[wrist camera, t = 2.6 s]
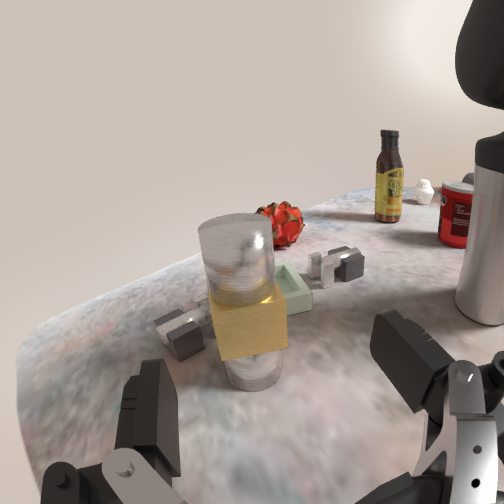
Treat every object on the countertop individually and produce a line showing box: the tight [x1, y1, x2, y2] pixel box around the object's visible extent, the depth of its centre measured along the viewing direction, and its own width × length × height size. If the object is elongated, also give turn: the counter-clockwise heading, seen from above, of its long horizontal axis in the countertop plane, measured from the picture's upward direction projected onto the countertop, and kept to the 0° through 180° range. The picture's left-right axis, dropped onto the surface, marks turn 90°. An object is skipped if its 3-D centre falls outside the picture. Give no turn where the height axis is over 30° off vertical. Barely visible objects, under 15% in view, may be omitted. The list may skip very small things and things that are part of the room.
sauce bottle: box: [375, 130, 404, 222], centre depth 55 cm, size 6×6×20 cm
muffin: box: [414, 179, 434, 205], centre depth 68 cm, size 6×6×7 cm
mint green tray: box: [275, 261, 312, 316], centre depth 36 cm, size 9×9×2 cm
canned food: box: [438, 181, 474, 248], centre depth 43 cm, size 8×8×11 cm
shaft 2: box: [308, 246, 365, 289], centre depth 39 cm, size 7×4×3 cm, turn 111°
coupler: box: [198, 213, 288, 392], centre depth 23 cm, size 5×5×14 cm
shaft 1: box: [154, 294, 216, 362], centre depth 30 cm, size 7×4×3 cm, turn 131°
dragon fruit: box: [255, 201, 305, 248], centre depth 51 cm, size 8×8×12 cm
